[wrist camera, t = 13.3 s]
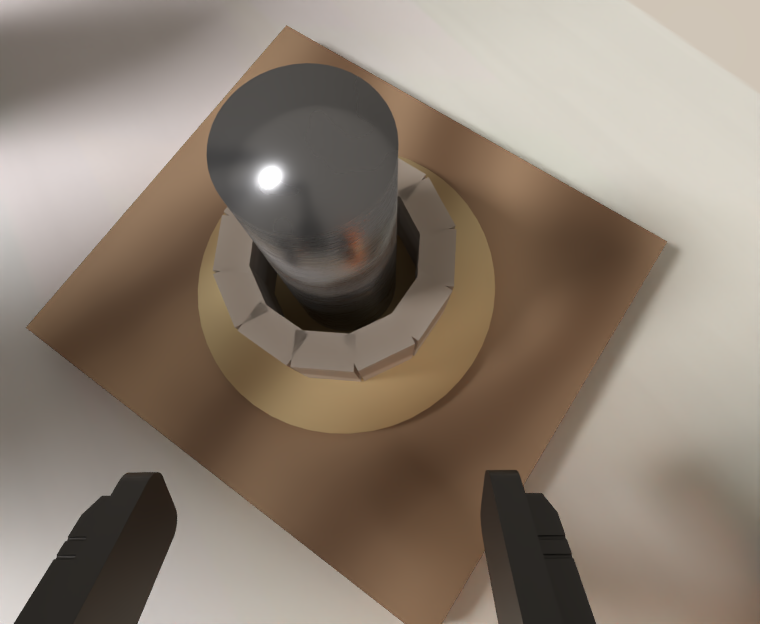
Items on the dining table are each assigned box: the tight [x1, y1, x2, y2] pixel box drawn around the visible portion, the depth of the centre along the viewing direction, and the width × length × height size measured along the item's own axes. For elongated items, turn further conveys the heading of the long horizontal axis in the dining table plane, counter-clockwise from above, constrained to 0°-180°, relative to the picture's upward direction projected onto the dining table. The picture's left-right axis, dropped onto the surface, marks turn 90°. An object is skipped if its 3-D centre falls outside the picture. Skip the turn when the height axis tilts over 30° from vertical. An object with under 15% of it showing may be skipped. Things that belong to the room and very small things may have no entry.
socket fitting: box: [26, 25, 667, 624], centre depth 18 cm, size 20×18×6 cm
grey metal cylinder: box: [207, 63, 399, 331], centre depth 14 cm, size 4×4×10 cm
